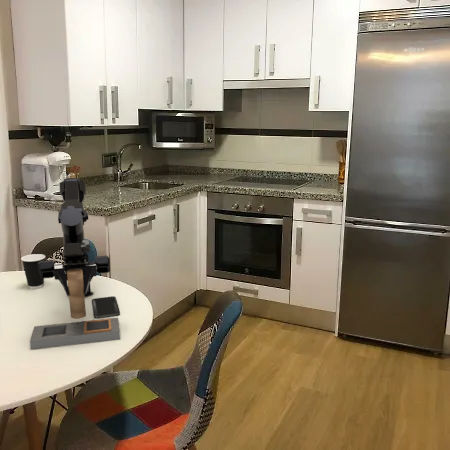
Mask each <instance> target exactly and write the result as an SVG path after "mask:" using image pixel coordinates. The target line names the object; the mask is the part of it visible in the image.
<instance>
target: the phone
mask: <svg viewBox="0 0 450 450" xmlns="http://www.w3.org/2000/svg"><path fill="white" fill-rule="evenodd" d="M91 305H92V312H93V313H92V314H93V318H94V320H99V319H108V318H116V317H119V316H121V312H120V306H119V304H118V299H117V297H116V296H115V295H114V296H105V297H104V296H103V297H96V298H91Z"/></svg>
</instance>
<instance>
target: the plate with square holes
mask: <svg viewBox="0 0 450 450" xmlns="http://www.w3.org/2000/svg"><path fill="white" fill-rule="evenodd" d="M120 333H121V332H120V321H119V317H107V318H99V319H92V320H82V321H73V322H64V323H63V322H62V323H54V324H53V323H52V324H44V325H35V326H33V329H32V332H31V336H30V339H29V344H30V345H29V346H30V350H37V349H38V350H39V349H46V348H55V347H56V348H57V347H64V346H72V345H83V344H90V343H98V342H107V341H116V340H120V339H121V334H120Z"/></svg>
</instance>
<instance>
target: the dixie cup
mask: <svg viewBox="0 0 450 450" xmlns="http://www.w3.org/2000/svg"><path fill="white" fill-rule="evenodd" d="M45 259H46V255H45V254H42V253H41V254H40V253H39V254H38V253H37V254H35V253H34V254H33V253H32V254H27V255H23V256H21V258H20V260H21V261H22V265H23V270H24V274H25V278H26V283H27V286H28V289H30V290H37V289H41V288H43V287H44V284H45V278H44V279H43V278H40V274H39V271H38V263H39V262H40V261H45Z"/></svg>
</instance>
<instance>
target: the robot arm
mask: <svg viewBox="0 0 450 450" xmlns="http://www.w3.org/2000/svg"><path fill="white" fill-rule="evenodd" d="M59 194H60V197H62V201H63V203H62V204H60V210H59V211H58V216H57V222H58V224H61V225H60V226H61V230H62V235H63V236H62V237H63V238H62V239H63V251H62V260H63V262H64V263H63V262H58V263H57V262H55V261H54V259H50V260H44V261H40V262H39V263H38V271H39V274H40V278H43V279H44V280H45V279H52V278H53V279H54V280H56V281H59V282H60V284H61V285H62V287H63V290H64V291H65V294H66V297H68V298H69V290H68V279H67V271H68V270H70V269H76V268H78V269H82V271H83V283H84V296H85V298H86V297H89V296H92V295H94V292H93V291H92V289H91V281H92V280H93V278H94V277H97V276H98V274H108V273H110V272H111V261H110V260H111V258H110V256H109V255H100V256H99V255H97V256H94V261H91V260H89V255H88V254H87V253H90V252H91V247H90V245H91V244H90V239H85V232H84V231H85V230H84V226H85V222H86V223H87V221H88V220H89V213H88V211H87V210H86V209H84V203H85V196H86V195H87V187H86V181H84V180H81V179H80V178H78V177H66V178H63V180H62V181H61V182H59Z"/></svg>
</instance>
